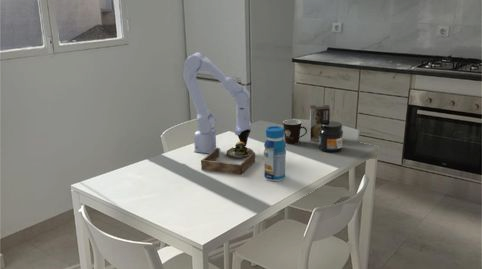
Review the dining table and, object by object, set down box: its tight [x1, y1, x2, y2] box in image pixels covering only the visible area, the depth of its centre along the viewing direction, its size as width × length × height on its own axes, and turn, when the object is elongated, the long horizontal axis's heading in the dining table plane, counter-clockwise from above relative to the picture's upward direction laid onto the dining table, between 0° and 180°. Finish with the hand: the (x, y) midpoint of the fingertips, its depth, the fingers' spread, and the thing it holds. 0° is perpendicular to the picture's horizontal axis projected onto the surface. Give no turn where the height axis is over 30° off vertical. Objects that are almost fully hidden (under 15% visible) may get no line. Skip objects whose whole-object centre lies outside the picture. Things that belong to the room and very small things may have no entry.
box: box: [200, 148, 256, 176], centre depth 191 cm, size 18×16×4 cm
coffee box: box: [309, 104, 331, 142], centre depth 220 cm, size 9×6×16 cm
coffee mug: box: [282, 119, 308, 145], centre depth 215 cm, size 12×9×10 cm
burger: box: [226, 138, 254, 158], centre depth 202 cm, size 12×12×8 cm
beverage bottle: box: [263, 125, 287, 182], centre depth 175 cm, size 8×8×20 cm
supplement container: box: [318, 120, 344, 153], centre depth 206 cm, size 10×10×12 cm
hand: (243, 145), depth 206 cm, fingers closed
